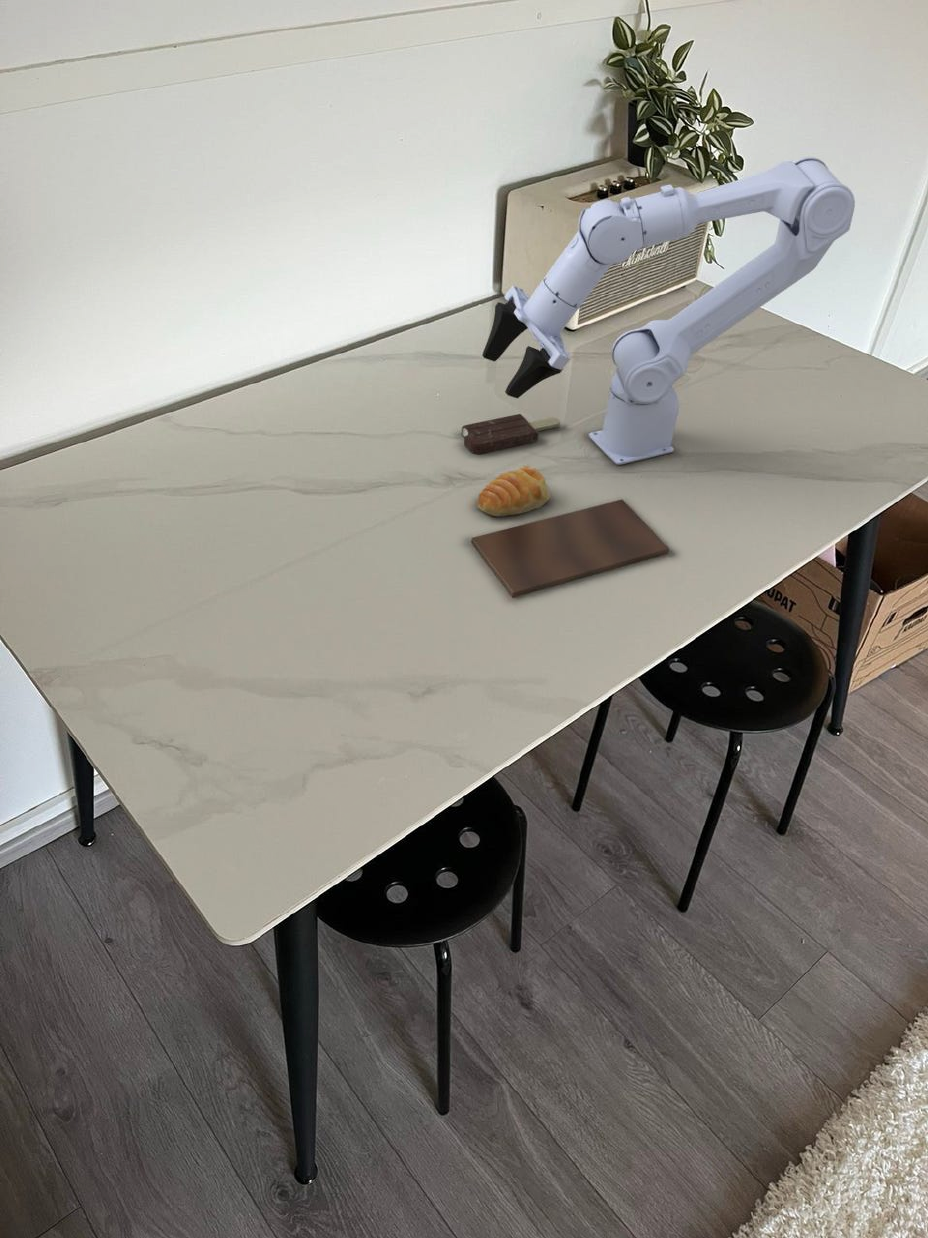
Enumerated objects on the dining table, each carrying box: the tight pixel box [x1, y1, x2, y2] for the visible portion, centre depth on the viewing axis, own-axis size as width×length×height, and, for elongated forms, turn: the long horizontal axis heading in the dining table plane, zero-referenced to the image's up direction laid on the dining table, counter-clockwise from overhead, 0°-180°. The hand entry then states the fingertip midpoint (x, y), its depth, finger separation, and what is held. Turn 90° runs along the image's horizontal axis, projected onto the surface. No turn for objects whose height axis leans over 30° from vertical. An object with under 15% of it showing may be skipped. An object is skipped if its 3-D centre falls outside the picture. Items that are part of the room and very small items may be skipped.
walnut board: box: [470, 499, 670, 598], centre depth 128 cm, size 22×11×1 cm, turn 116°
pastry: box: [477, 465, 551, 518], centre depth 133 cm, size 9×7×4 cm
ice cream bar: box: [461, 413, 561, 455], centre depth 145 cm, size 5×2×15 cm
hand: (499, 376), depth 136 cm, fingers open, 7 cm apart
